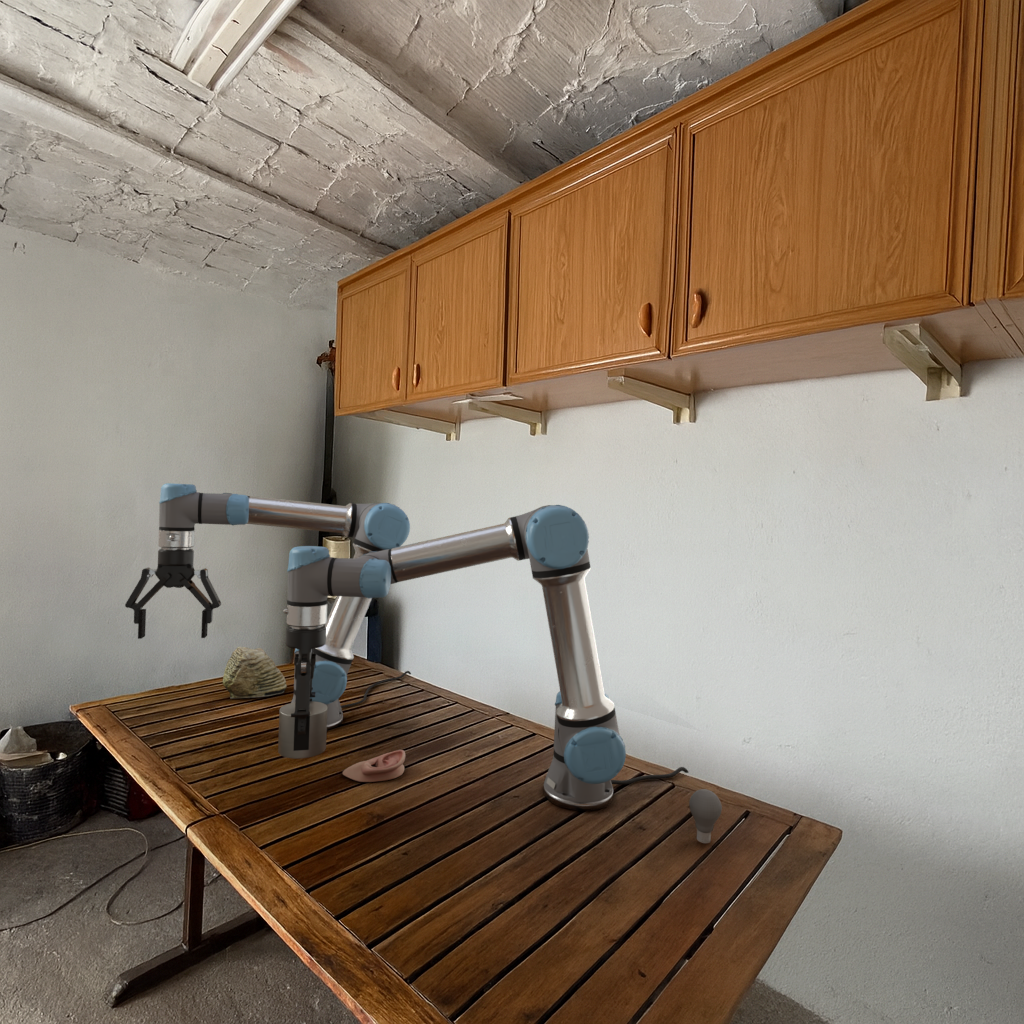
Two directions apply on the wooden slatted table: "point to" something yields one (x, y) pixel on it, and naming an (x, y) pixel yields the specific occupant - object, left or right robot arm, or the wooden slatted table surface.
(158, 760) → the wooden slatted table surface
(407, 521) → the left robot arm
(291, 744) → the can
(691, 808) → the light bulb
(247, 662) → the fossil
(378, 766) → the anatomical model
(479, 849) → the wooden slatted table surface
